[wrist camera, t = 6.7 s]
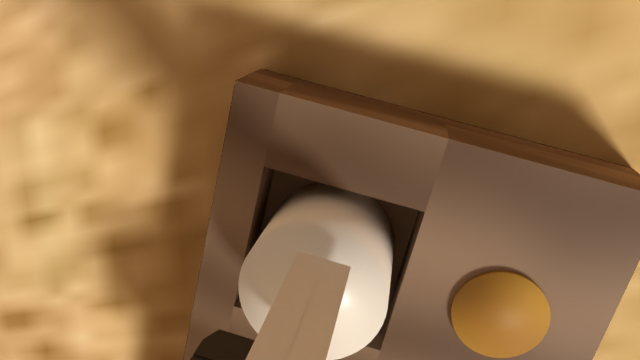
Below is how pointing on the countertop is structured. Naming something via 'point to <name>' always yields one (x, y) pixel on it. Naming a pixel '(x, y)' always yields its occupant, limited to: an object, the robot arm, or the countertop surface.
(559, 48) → the countertop surface
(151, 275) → the countertop surface
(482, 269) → the board
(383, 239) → the button
